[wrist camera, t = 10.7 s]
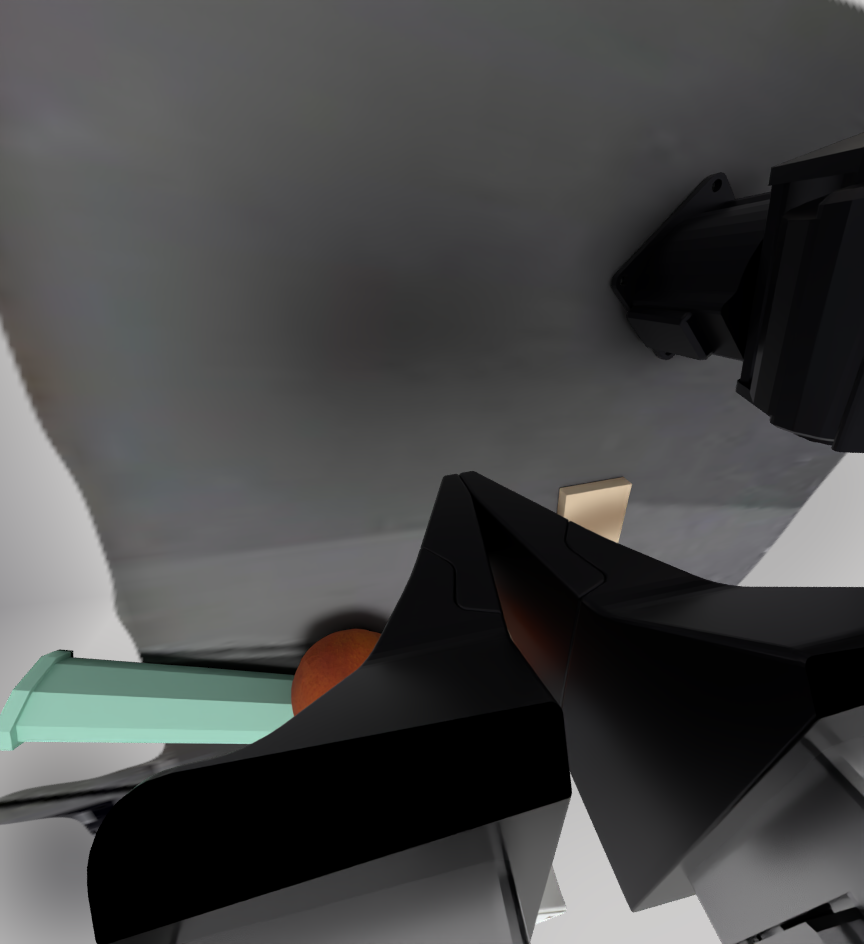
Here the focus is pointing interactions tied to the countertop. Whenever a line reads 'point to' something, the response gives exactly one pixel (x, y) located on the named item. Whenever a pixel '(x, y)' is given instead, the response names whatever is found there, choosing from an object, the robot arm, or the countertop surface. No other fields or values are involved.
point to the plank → (596, 506)
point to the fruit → (330, 664)
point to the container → (142, 703)
